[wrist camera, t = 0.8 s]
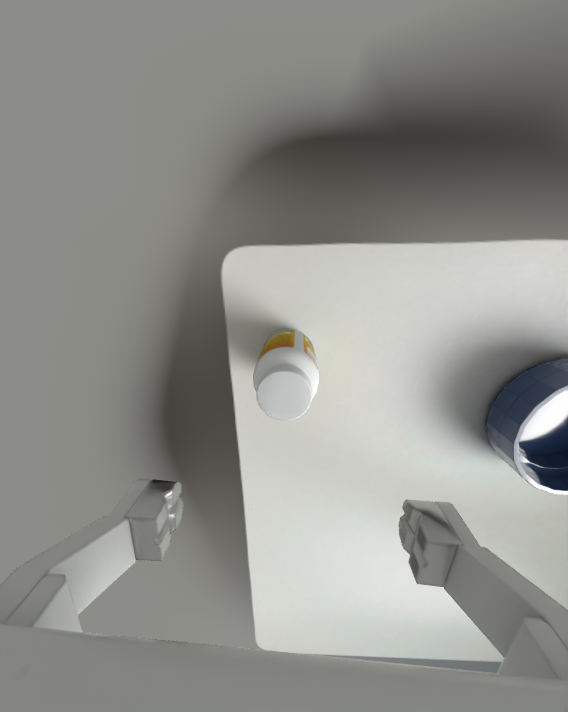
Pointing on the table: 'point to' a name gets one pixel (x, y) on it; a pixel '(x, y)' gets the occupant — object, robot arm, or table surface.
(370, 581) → the table surface
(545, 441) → the blue bowl
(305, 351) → the supplement bottle
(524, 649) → the robot arm
